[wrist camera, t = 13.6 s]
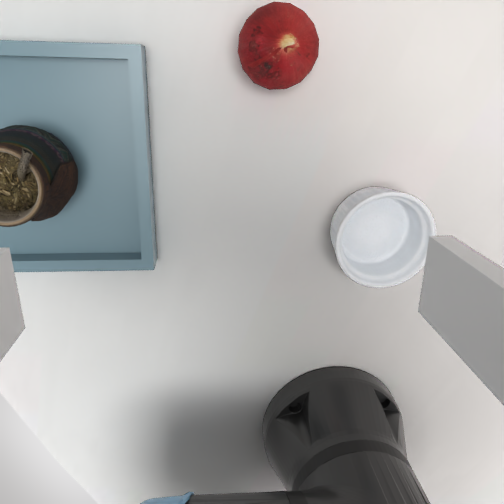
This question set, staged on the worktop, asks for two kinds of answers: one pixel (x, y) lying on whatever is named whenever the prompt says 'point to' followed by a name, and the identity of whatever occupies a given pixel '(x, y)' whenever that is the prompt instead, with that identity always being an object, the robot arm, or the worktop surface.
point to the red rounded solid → (278, 45)
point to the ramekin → (381, 236)
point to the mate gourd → (33, 175)
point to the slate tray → (85, 153)
